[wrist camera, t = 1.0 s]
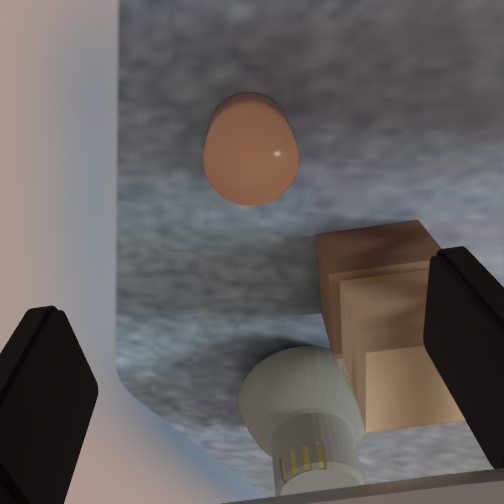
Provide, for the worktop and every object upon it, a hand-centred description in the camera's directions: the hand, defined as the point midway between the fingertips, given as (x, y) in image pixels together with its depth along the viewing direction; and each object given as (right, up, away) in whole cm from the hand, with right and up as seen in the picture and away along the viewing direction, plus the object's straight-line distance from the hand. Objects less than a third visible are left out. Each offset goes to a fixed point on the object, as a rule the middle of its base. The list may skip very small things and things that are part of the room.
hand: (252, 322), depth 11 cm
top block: (+9, -2, +16) cm, 18 cm away
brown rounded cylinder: (0, +9, +15) cm, 17 cm away
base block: (+8, +1, +20) cm, 22 cm away
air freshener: (+4, -9, +26) cm, 28 cm away
